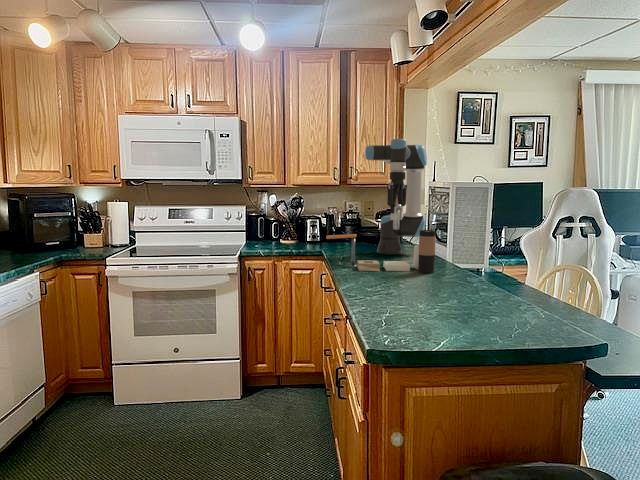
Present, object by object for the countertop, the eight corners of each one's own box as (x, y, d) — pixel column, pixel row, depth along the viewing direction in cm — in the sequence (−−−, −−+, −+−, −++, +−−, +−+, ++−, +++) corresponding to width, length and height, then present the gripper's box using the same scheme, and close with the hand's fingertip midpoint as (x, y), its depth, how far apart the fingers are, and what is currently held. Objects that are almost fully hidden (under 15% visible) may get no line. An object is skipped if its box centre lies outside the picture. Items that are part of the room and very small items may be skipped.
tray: (383, 266, 241) (383, 261, 240) (405, 267, 241) (405, 261, 240) (386, 270, 229) (386, 264, 229) (409, 271, 229) (409, 265, 229)
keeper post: (348, 265, 243) (349, 237, 241) (356, 265, 243) (357, 237, 241) (349, 267, 239) (349, 238, 237) (357, 267, 239) (357, 238, 237)
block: (357, 267, 239) (357, 260, 238) (377, 267, 239) (377, 260, 239) (358, 270, 229) (359, 263, 229) (379, 271, 229) (379, 263, 229)
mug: (421, 270, 232) (422, 247, 231) (409, 267, 240) (410, 245, 238) (439, 268, 238) (440, 246, 237) (427, 265, 246) (428, 244, 245)
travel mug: (415, 272, 226) (417, 230, 223) (420, 270, 232) (421, 229, 230) (431, 274, 222) (433, 231, 220) (436, 271, 229) (437, 230, 226)
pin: (390, 228, 235) (391, 204, 233) (399, 228, 235) (400, 204, 233) (392, 229, 231) (392, 204, 229) (401, 229, 231) (402, 205, 229)
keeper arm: (354, 236, 241) (354, 233, 241) (357, 237, 239) (357, 234, 239) (325, 238, 232) (325, 235, 232) (328, 239, 229) (328, 236, 229)
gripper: (393, 171, 221) (391, 221, 223) (414, 171, 233) (413, 219, 236) (380, 171, 226) (379, 220, 229) (402, 172, 238) (400, 218, 241)
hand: (396, 219), depth 232 cm, fingers closed on pin, 4 cm apart
